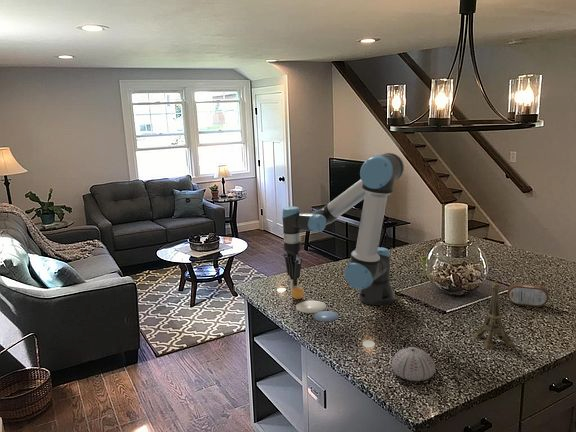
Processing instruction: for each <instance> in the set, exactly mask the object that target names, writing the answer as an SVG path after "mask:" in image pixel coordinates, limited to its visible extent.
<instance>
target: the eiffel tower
mask: <svg viewBox="0 0 576 432" xmlns="http://www.w3.org/2000/svg"><path fill="white" fill-rule="evenodd" d="M490 287H492V291H491V292H492V293H491V298H490V304H489V305H490V306H489V309H488V311H486V315H487V316H486V320H485V321H484V322H482V324H483V325H482V326H481V327H480V328H478V330H476V331H475V332H474V333H471V336H472V337H473V338H475V339H482V338H484V334H485V333H486V332H487V334H488V335H487V337H486V339H485V340H484V343H482V344H481V345H482V347H483V348H484V349H486V350H487V349H488V350H490V349H494V348H495V347H494V344H493V339H494V338H493V336H494V335H495V337H502V338H503V340H504V342H503V344H505V345H506V346H507V347H508V348H510V347H517V345H516V344H515V343H514V342H513V340H512V339H511V337H510V336H509V334H508V333H507V331H506V327H505V326H504V325H503V321H502V319H503V315H502V314H501V308H500V298H499V288H501V286H500V284H499V283H498V282H497V278H495V280H494V283H491V285H490Z"/></svg>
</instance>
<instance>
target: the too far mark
mask: <svg viewBox="0 0 576 432" xmlns="http://www.w3.org/2000/svg"><path fill="white" fill-rule="evenodd" d="M313 314H314V315H313V318H314V319H315V320H316V321H318V322H323V323H324V322H327V323H328V322H333V321H336V320H337V319H339V314H338V313H337V312H335V311H332V310H331V311H330V310H323V311H320V312H316V313H313Z"/></svg>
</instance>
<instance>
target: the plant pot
mask: <svg viewBox="0 0 576 432" xmlns="http://www.w3.org/2000/svg"><path fill="white" fill-rule="evenodd" d="M427 256H428V255H426V256H422V257H420V261H421V264H422V270H423V276H424V277H426V274H425V264H426V258H427Z"/></svg>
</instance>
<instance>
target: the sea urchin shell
mask: <svg viewBox="0 0 576 432" xmlns="http://www.w3.org/2000/svg"><path fill="white" fill-rule="evenodd" d="M390 363H391V368H392V372H393V373H394V375H396V376H398V377H399V378H401V379H403V380H406V381H410V382H411V381H412V382H414V381H415V382H420V381H426V380H428V379H430V378H432V377H433V376H434V374H435V372H436V364H435V363H436V362H435V361H434V359H433V358H432V357H431V355H430V354H428V353H427V352H426V351H425V350H423V349H420V348H417V347H415V346H409V347H407V348H406V347H405V348H402V349H400V350H399V351H397V352H396V353H395V354H394V355H393V356H392V358H391V362H390Z"/></svg>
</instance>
